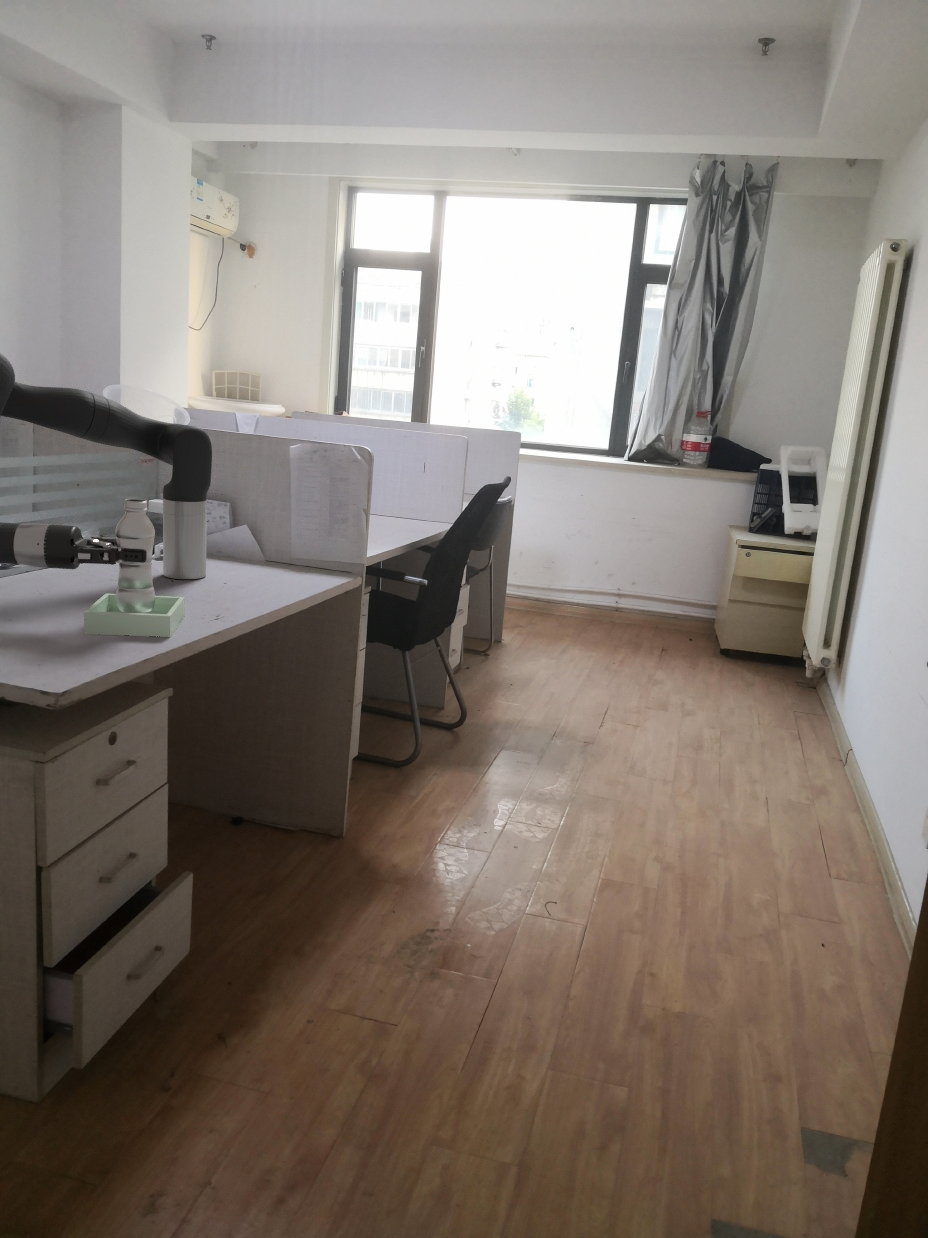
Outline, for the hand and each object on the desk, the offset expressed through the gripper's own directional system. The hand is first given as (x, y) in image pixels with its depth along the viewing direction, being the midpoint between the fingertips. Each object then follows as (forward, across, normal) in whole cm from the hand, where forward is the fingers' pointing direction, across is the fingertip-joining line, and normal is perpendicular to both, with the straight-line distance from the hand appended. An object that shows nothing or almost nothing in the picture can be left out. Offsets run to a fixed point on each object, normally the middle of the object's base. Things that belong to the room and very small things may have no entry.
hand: (150, 552), depth 152 cm
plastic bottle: (-2, 0, +11) cm, 11 cm away
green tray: (-2, 0, +13) cm, 13 cm away
